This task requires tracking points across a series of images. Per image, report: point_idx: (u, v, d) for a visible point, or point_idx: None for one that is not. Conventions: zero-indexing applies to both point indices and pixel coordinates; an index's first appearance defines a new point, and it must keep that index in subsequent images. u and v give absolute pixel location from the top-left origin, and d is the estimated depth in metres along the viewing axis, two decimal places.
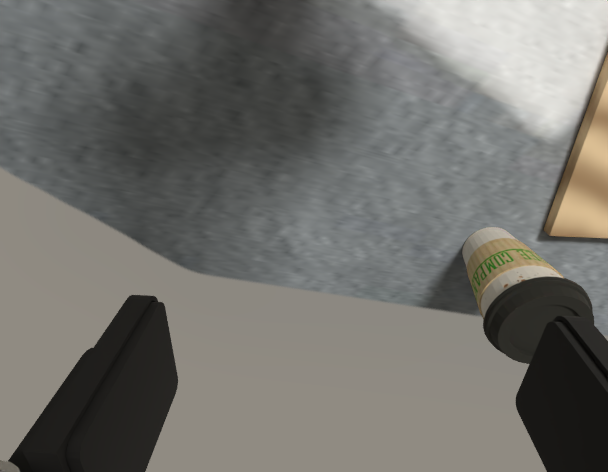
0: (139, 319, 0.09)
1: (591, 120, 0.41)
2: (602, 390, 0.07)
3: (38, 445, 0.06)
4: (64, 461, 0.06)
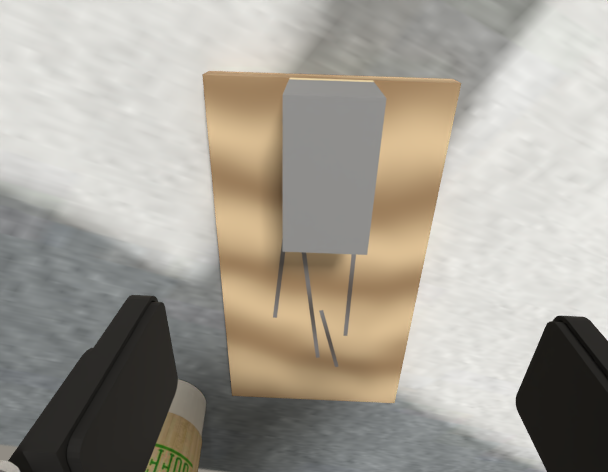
0: (139, 319, 0.09)
1: None
2: (602, 390, 0.07)
3: (38, 445, 0.06)
4: (64, 461, 0.06)
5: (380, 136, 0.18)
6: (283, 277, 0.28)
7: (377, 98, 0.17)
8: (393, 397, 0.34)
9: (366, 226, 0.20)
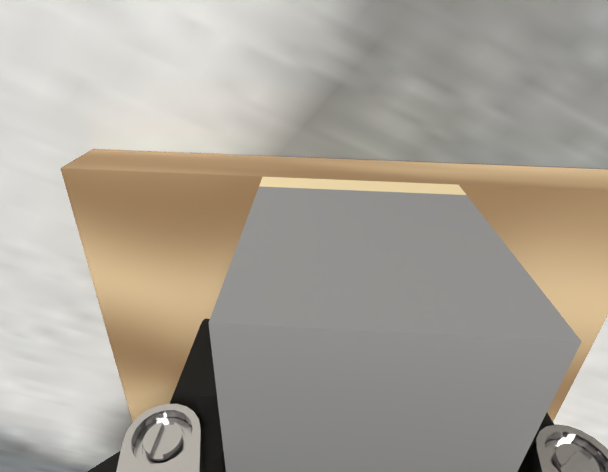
0: None
1: None
2: None
3: (206, 390, 0.07)
4: None
5: (533, 428, 0.06)
6: None
7: (546, 338, 0.05)
8: None
9: None
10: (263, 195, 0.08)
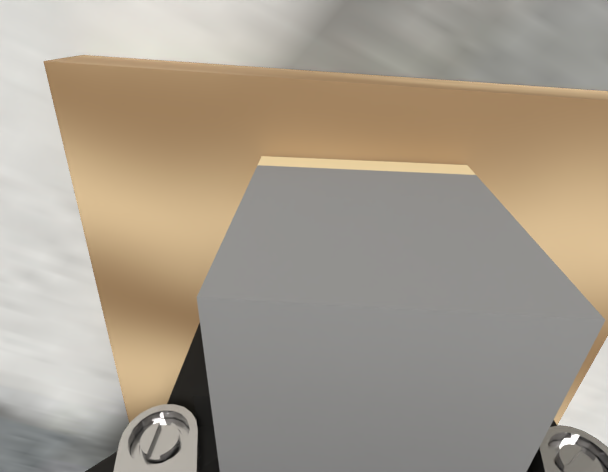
0: None
1: None
2: None
3: (203, 391, 0.07)
4: None
5: (549, 417, 0.05)
6: None
7: (566, 316, 0.04)
8: None
9: None
10: (261, 173, 0.08)
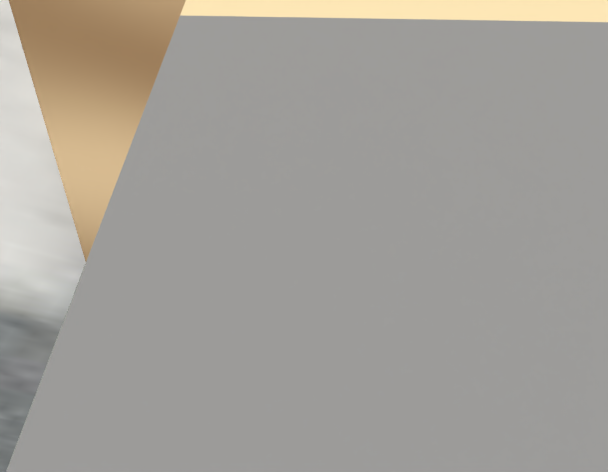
0: None
1: None
2: None
3: None
4: None
5: None
6: None
7: None
8: None
9: None
10: (187, 45, 0.03)
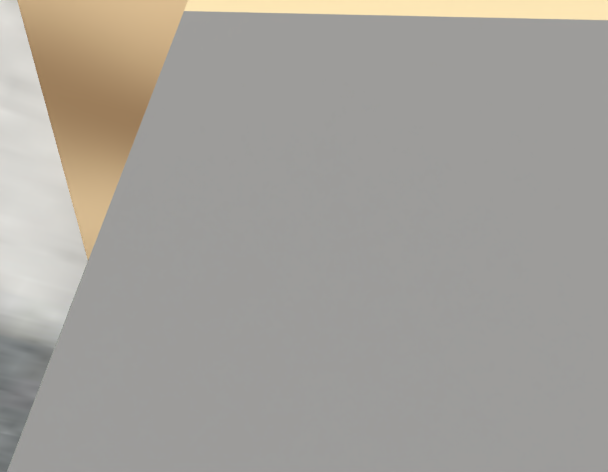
0: None
1: None
2: None
3: None
4: None
5: None
6: None
7: None
8: None
9: None
10: (191, 41, 0.03)
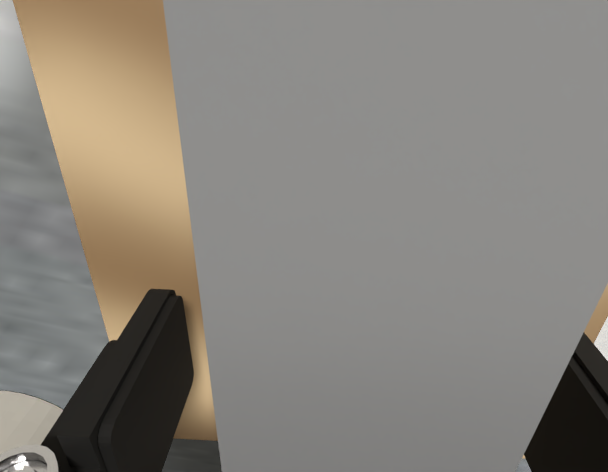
0: (160, 311, 0.09)
1: None
2: (575, 377, 0.08)
3: (71, 430, 0.06)
4: (95, 445, 0.06)
5: None
6: None
7: None
8: None
9: (518, 430, 0.06)
10: None
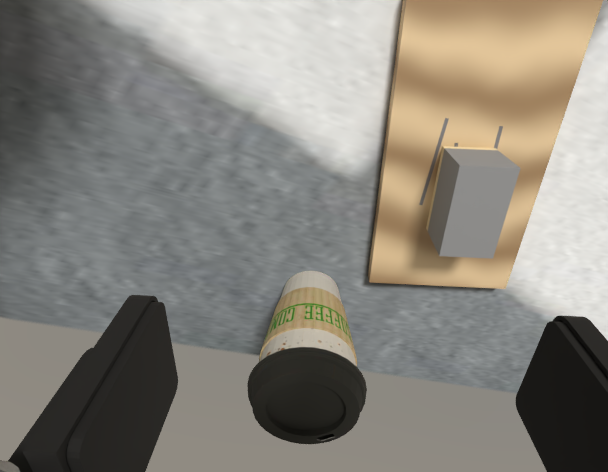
0: (139, 319, 0.09)
1: (385, 156, 0.35)
2: (602, 390, 0.07)
3: (38, 445, 0.06)
4: (64, 461, 0.06)
5: (513, 188, 0.31)
6: (435, 167, 0.35)
7: (515, 168, 0.30)
8: (505, 283, 0.41)
9: (495, 241, 0.33)
10: (447, 150, 0.33)
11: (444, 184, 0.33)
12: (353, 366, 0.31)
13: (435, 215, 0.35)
